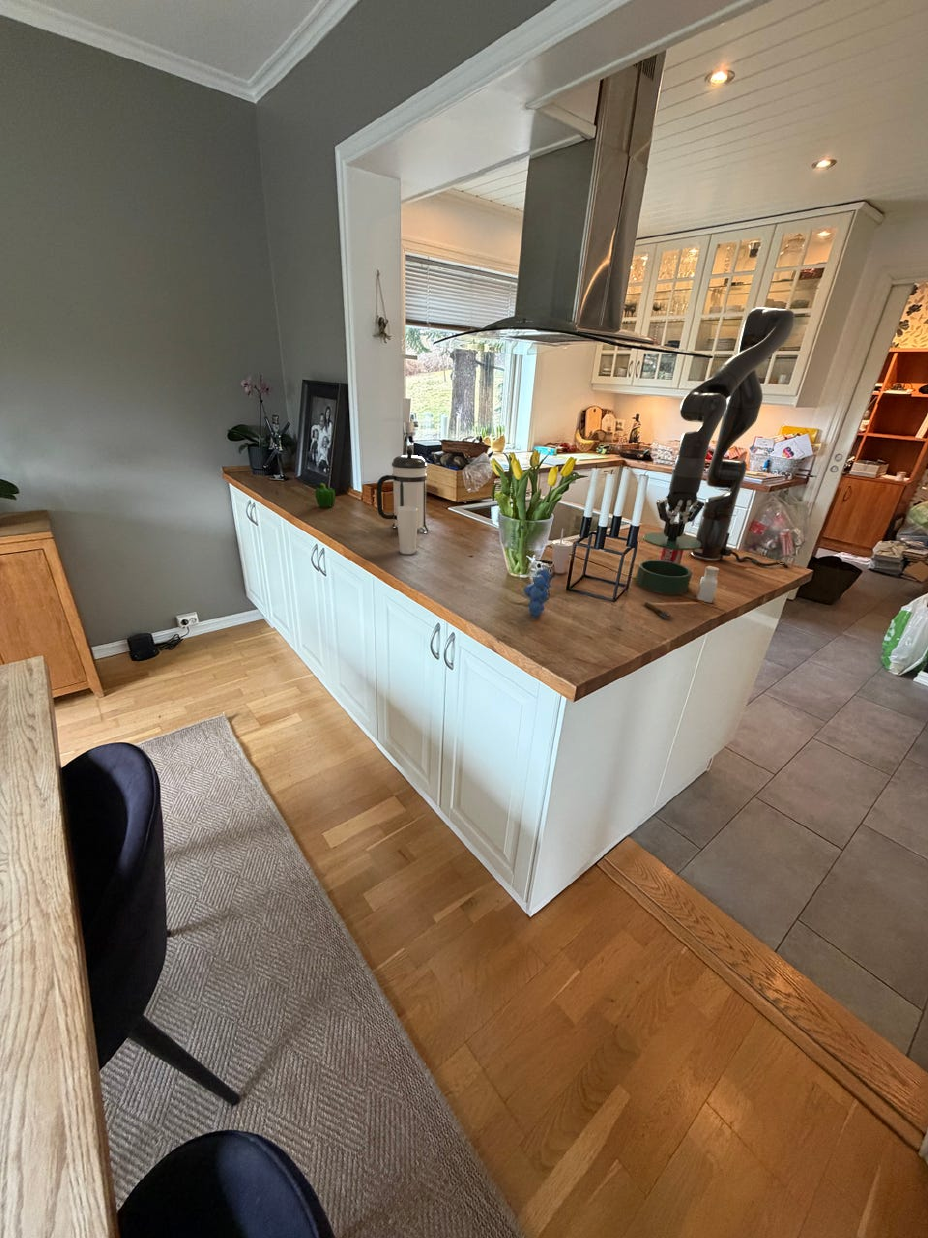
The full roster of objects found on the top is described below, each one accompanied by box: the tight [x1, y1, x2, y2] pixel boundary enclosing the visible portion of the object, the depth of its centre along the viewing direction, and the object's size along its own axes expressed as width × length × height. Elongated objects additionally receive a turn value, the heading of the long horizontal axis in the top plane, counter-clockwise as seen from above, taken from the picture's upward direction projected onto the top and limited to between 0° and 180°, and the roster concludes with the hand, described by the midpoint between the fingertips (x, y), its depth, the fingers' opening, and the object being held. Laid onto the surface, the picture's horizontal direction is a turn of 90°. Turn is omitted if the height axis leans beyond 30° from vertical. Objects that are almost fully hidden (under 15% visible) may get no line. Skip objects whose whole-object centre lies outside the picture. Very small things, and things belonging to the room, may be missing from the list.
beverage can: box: [659, 531, 687, 564], centre depth 157 cm, size 6×6×12 cm
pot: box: [635, 559, 693, 595], centre depth 144 cm, size 15×15×6 cm
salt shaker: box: [695, 565, 720, 604], centre depth 134 cm, size 4×4×10 cm
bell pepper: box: [314, 482, 336, 509], centre depth 212 cm, size 8×8×10 cm
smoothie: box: [551, 528, 574, 574], centre depth 148 cm, size 6×6×14 cm
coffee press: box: [375, 448, 430, 534], centre depth 179 cm, size 17×16×30 cm
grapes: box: [523, 567, 552, 618], centre depth 122 cm, size 12×7×12 cm, turn 156°
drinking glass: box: [397, 506, 418, 556], centre depth 160 cm, size 7×7×15 cm
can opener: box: [644, 601, 671, 620], centre depth 127 cm, size 9×2×1 cm, turn 17°
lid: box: [642, 521, 701, 551], centre depth 138 cm, size 16×16×6 cm
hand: (672, 535), depth 138 cm, fingers closed on lid, 2 cm apart
